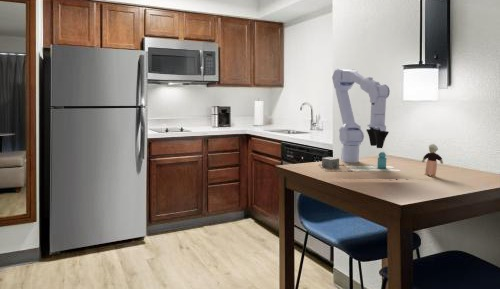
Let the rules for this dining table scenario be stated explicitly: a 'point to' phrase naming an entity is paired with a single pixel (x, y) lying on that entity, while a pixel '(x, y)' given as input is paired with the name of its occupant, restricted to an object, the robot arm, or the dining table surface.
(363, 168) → the board
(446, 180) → the dining table surface
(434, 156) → the grandmother figurine
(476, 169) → the dining table surface
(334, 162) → the grey symbol block
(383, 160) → the pawn
